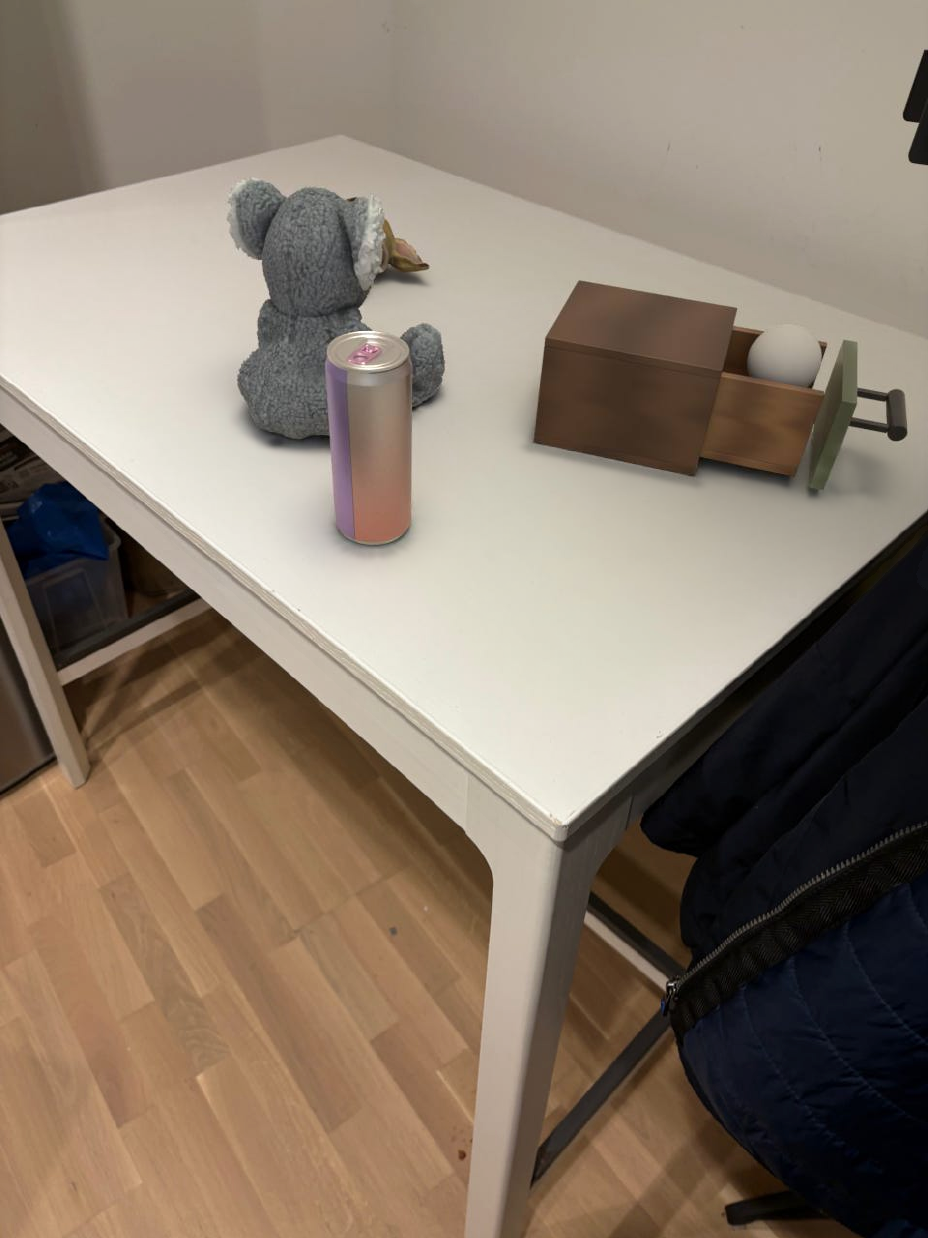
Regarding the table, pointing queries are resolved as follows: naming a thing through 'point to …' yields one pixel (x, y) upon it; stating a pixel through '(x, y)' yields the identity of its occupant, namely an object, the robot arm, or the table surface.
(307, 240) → the koala plush
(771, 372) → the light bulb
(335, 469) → the beverage can
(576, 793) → the table surface
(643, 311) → the cabinet
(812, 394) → the drawer
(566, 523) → the table surface
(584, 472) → the table surface
